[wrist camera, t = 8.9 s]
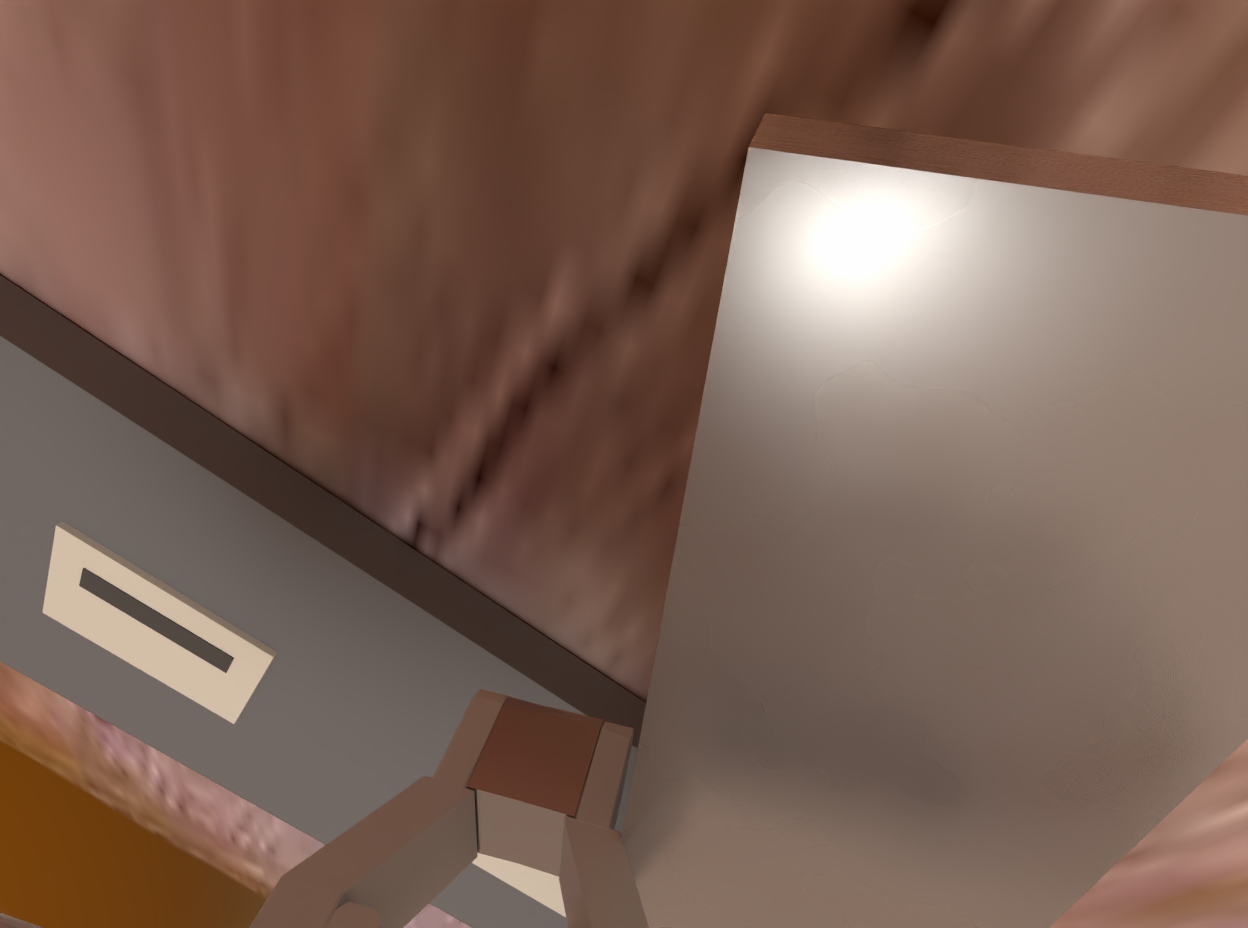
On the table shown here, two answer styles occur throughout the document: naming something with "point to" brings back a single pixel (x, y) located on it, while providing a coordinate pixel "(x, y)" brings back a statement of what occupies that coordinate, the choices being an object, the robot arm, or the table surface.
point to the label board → (247, 607)
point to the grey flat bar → (949, 536)
